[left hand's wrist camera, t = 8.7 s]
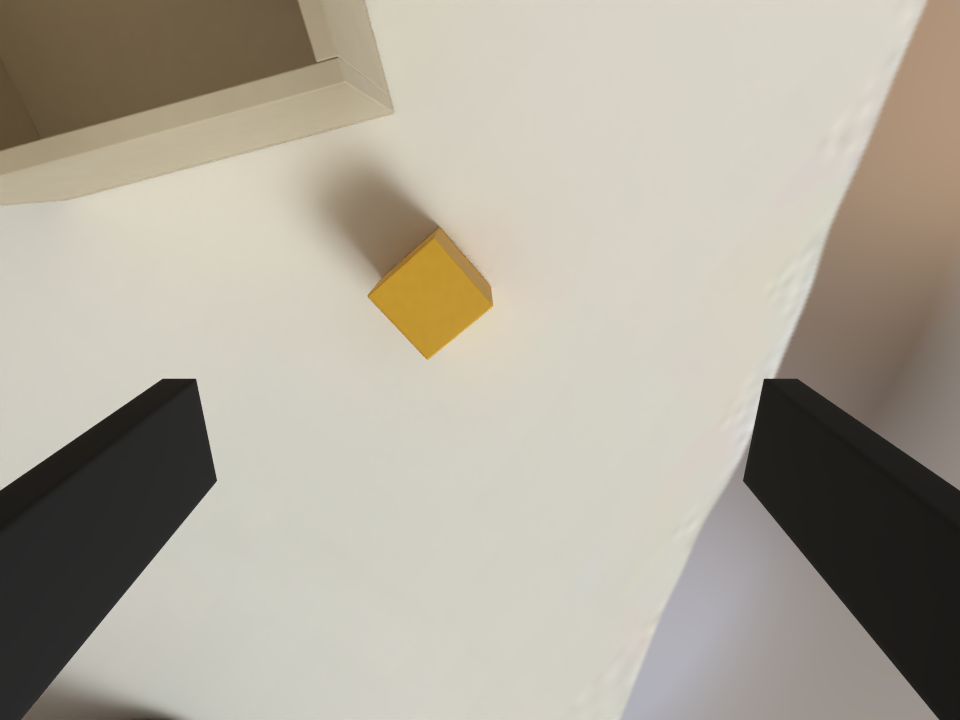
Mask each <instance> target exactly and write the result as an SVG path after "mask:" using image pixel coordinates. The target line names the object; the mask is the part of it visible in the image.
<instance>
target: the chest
mask: <svg viewBox="0 0 960 720" xmlns="http://www.w3.org/2000/svg"><path fill="white" fill-rule="evenodd" d="M393 113H394V108H393V104H392V101H391V97H390V93H389V90H388V86H387V82H386V78H385V75H384V71H383V67H382V64H381V60H380V56H379V52H378V49H377V45H376V41H375V37H374V34H373V30H372V26H371V23H370V19H369V15H368V11H367V8H366V4H365V0H0V206H7V205H18V204H29V203H41V202H52V201H63V200H70V199H73V198H77V197H81V196H85V195H88V194H92V193H96V192H100V191H103V190H107V189H111V188H115V187H118V186H122V185H126V184H130V183H134V182H137V181H141V180H145V179H149V178H152V177H156V176H160V175H164V174H167V173H171V172H175V171H179V170H182V169H186V168H190V167H194V166H198V165H201V164H205V163H209V162H213V161H216V160H220V159H224V158H228V157H231V156H235V155H239V154H243V153H246V152H250V151H254V150H258V149H262V148H265V147H269V146H273V145H277V144H280V143H284V142H288V141H292V140H295V139H299V138H303V137H307V136H311V135H314V134H318V133H322V132H326V131H329V130H333V129H337V128H341V127H344V126H348V125H352V124H356V123H359V122H363V121H367V120H371V119H375V118H378V117H382V116H386V115H390V114H393Z"/></svg>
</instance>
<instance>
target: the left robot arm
mask: <svg viewBox="0 0 960 720" xmlns="http://www.w3.org/2000/svg"><path fill="white" fill-rule="evenodd" d="M216 481H217V479H216V474H215V469H214V464H213V459H212V454H211V450H210V445H209V440H208V435H207V430H206V425H205V420H204V415H203V411H202V406H201V401H200V396H199V391H198V386H197V381H196V379H162V380H160V381H159V382H157V383H156V384H155V385H153V386H152V387H150V388H149V389H147V390H146V391H144V392H143V393H141V394H140V395H139V396H137V397H136V398H134V399H133V400H131V401H130V402H128V403H127V404H126V405H124V406H123V407H121V408H120V409H118V410H117V411H115V412H114V413H112V414H111V415H110V416H108V417H107V418H105V419H104V420H102V421H101V422H99V423H98V424H96V425H95V426H94V427H92V428H91V429H89V430H88V431H86V432H85V433H83V434H82V435H80V436H79V437H78V438H76V439H75V440H73V441H72V442H70V443H69V444H67V445H66V446H64V447H63V448H62V449H60V450H59V451H57V452H56V453H54V454H53V455H51V456H50V457H48V458H47V459H46V460H44V461H43V462H41V463H40V464H38V465H37V466H35V467H34V468H32V469H31V470H30V471H28V472H27V473H25V474H24V475H22V476H21V477H19V478H18V479H17V480H15V481H14V482H12V483H11V484H9V485H8V486H6V487H5V488H3V489H2V490H1V491H0V720H21V719H22V718H23V716H24V715H25V714H26V713H27V711H28V710H29V709H30V708H31V707H32V705H33V704H34V703H35V702H36V701H37V699H38V698H39V697H40V696H41V694H42V693H43V692H44V691H45V690H46V688H47V687H48V686H49V685H50V683H51V682H52V681H53V680H54V679H55V677H56V676H57V675H58V674H59V673H60V671H61V670H62V669H63V668H64V666H65V665H66V664H67V663H68V662H69V660H70V659H71V658H72V657H73V655H74V654H75V653H76V652H77V651H78V649H79V648H80V647H81V646H82V645H83V643H84V642H85V641H86V640H87V638H88V637H89V636H90V635H91V634H92V632H93V631H94V630H95V629H96V627H97V626H98V625H99V624H100V623H101V621H102V620H103V619H104V618H105V617H106V615H107V614H108V613H109V612H110V610H111V609H112V608H113V607H114V606H115V604H116V603H117V602H118V601H119V599H120V598H121V597H122V596H123V595H124V593H125V592H126V591H127V590H128V589H129V587H130V586H131V585H132V584H133V582H134V581H135V580H136V579H137V578H138V576H139V575H140V574H141V573H142V571H143V570H144V569H145V568H146V567H147V565H148V564H149V563H150V562H151V561H152V559H153V558H154V557H155V556H156V554H157V553H158V552H159V551H160V550H161V548H162V547H163V546H164V545H165V543H166V542H167V541H168V540H169V539H170V537H171V536H172V535H173V534H174V533H175V531H176V530H177V529H178V528H179V526H180V525H181V524H182V523H183V522H184V520H185V519H186V518H187V517H188V515H189V514H190V513H191V512H192V511H193V509H194V508H195V507H196V506H197V504H198V503H199V502H200V501H201V500H202V498H203V497H204V496H205V495H206V494H207V492H208V491H209V490H210V489H211V487H212V486H213V485H214V484H215V483H216ZM743 481H744V483H745V484H746V485H747V486H748V487H749V489H750V490H751V491H752V492H753V493H754V495H755V496H756V497H757V498H758V500H759V501H760V502H761V503H762V504H763V506H764V507H765V508H766V509H767V511H768V512H769V513H770V514H771V515H772V517H773V518H774V519H775V520H776V522H777V523H778V524H779V525H780V526H781V528H782V529H783V530H784V531H785V532H786V534H787V535H788V536H789V537H790V539H791V540H792V541H793V542H794V543H795V545H796V546H797V547H798V548H799V550H800V551H801V552H802V553H803V554H804V556H805V557H806V558H807V559H808V561H809V562H810V563H811V564H812V565H813V567H814V568H815V569H816V570H817V571H818V573H819V574H820V575H821V576H822V578H823V579H824V580H825V581H826V582H827V584H828V585H829V586H830V587H831V589H832V590H833V591H834V592H835V593H836V595H837V596H838V597H839V598H840V599H841V601H842V602H843V603H844V604H845V606H846V607H847V608H848V609H849V610H850V612H851V613H852V614H853V615H854V617H855V618H856V619H857V620H858V621H859V623H860V624H861V625H862V626H863V627H864V629H865V630H866V631H867V632H868V634H869V635H870V636H871V637H872V638H873V640H874V641H875V642H876V643H877V645H878V646H879V647H880V648H881V649H882V651H883V652H884V653H885V654H886V655H887V657H888V658H889V659H890V660H891V661H892V663H893V664H894V665H895V666H896V668H897V669H898V670H899V671H900V673H901V674H902V675H903V676H904V677H905V679H906V680H907V681H908V682H909V683H910V685H911V686H912V687H913V688H914V690H915V691H916V692H917V693H918V694H919V696H920V697H921V698H922V699H923V700H924V702H925V703H926V704H927V705H928V707H929V708H930V709H931V710H932V711H933V713H934V714H935V715H936V716H937V717H938V719H939V720H960V491H959V490H958V489H957V488H955V487H954V486H952V485H951V484H949V483H948V482H946V481H945V480H943V479H942V478H941V477H939V476H938V475H936V474H935V473H933V472H932V471H930V470H929V469H927V468H926V467H925V466H923V465H922V464H920V463H919V462H917V461H916V460H914V459H913V458H911V457H910V456H909V455H907V454H906V453H904V452H903V451H901V450H900V449H898V448H897V447H895V446H894V445H893V444H891V443H890V442H888V441H887V440H885V439H884V438H882V437H881V436H880V435H878V434H877V433H875V432H874V431H872V430H871V429H869V428H868V427H866V426H865V425H864V424H862V423H861V422H859V421H858V420H856V419H855V418H853V417H852V416H850V415H849V414H848V413H846V412H845V411H843V410H842V409H840V408H839V407H837V406H836V405H834V404H833V403H832V402H830V401H829V400H827V399H826V398H824V397H823V396H821V395H820V394H819V393H817V392H816V391H814V390H813V389H811V388H810V387H808V386H807V385H805V384H804V383H803V382H801V381H800V380H798V379H764V381H763V386H762V391H761V396H760V401H759V406H758V411H757V415H756V420H755V425H754V430H753V435H752V440H751V445H750V450H749V454H748V459H747V464H746V469H745V474H744V479H743Z"/></svg>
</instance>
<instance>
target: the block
mask: <svg viewBox="0 0 960 720" xmlns="http://www.w3.org/2000/svg"><path fill="white" fill-rule="evenodd" d="M368 298H369V299H370V300H371V301H372V302H373V303H374V304H375V305H376V306H377V307H378V308H379V309H380V310H381V311H382V312H383V313H384V315H385V316H386V317H387V318H388V319H389V320H390V321H391V322H392V323H393V324H394V325H395V326H396V327H397V328H398V329H399V330H400V332H401V333H402V334H403V335H404V336H405V337H406V338H407V339H408V340H409V341H410V342H411V343H412V344H413V345H414V346H415V347H416V348H417V350H418V351H419V352H420V353H421V354H422V355H423V356H424V357H425V358H426V359H427V360H428V359H430V358H431V357H432V356H433V355H435V354H436V353H437V352H438V351H440V350H441V349H442V348H443V347H444V346H446V345H447V344H448V343H449V342H450V341H452V340H453V339H454V338H455V337H457V336H458V335H459V334H460V333H461V332H463V331H464V330H465V329H466V328H468V327H469V326H470V325H471V324H472V323H474V322H475V321H476V320H477V319H479V318H480V317H481V316H482V315H483V314H485V313H486V312H487V311H488V310H490V309H491V308H492V307H493V301H492V292H491V286H490V285H489V284H488V282H487V281H486V280H485V279H484V278H483V276H482V275H481V274H480V273H479V272H478V271H477V269H476V268H475V267H474V266H473V265H472V264H471V262H470V261H469V260H468V259H467V258H466V257H465V255H464V254H463V253H462V252H461V251H460V250H459V248H458V247H457V246H456V245H455V244H454V242H453V241H452V240H451V239H450V238H449V237H448V235H447V234H446V233H445V232H444V231H443V230H442V228H440V227H439V228H438V229H436V230H435V231H434V232H433V233H432V234H431V235H430V236H429V237H427V238H426V239H425V240H424V241H423V242H422V243H421V244H420V245H418V246H417V247H416V248H415V249H414V250H413V251H412V252H411V253H409V254H408V255H407V256H406V257H405V258H404V259H403V260H402V261H400V262H399V263H398V264H397V265H396V266H395V267H394V268H393V269H391V270H390V271H389V272H388V273H387V274H386V275H385V276H384V277H383V278H382V279H381V280H380V281H379V282H378V284H377V285H376V286H375V287H374V288H373V290H372V291H371V292H370V293H369V294H368Z"/></svg>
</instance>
